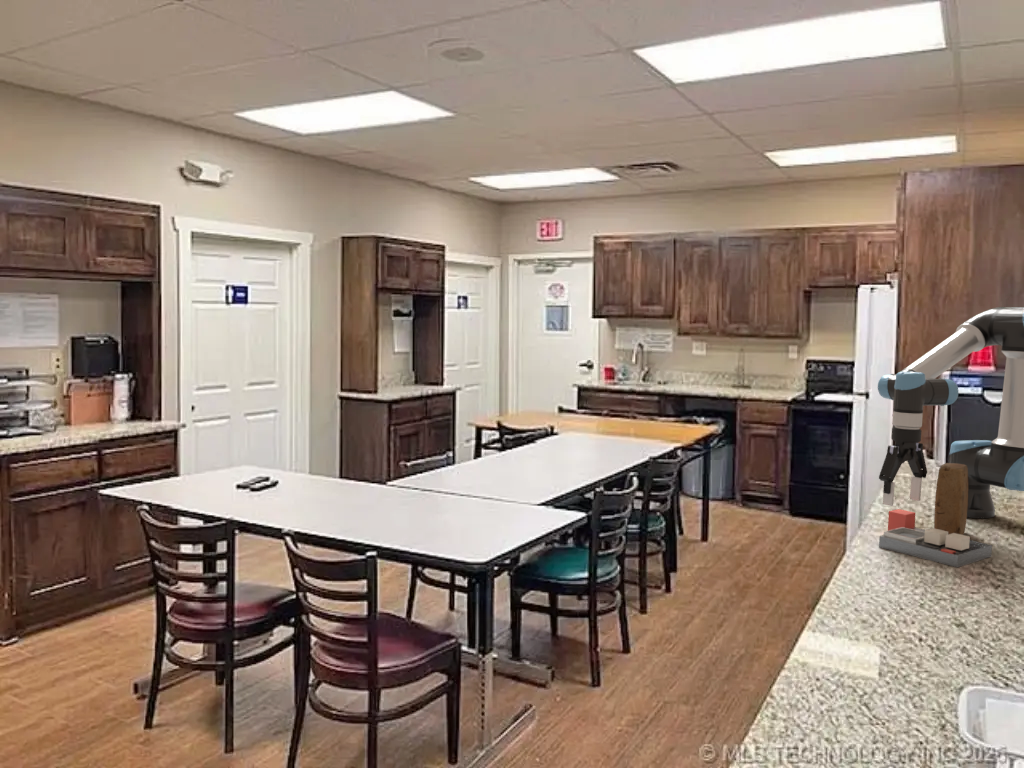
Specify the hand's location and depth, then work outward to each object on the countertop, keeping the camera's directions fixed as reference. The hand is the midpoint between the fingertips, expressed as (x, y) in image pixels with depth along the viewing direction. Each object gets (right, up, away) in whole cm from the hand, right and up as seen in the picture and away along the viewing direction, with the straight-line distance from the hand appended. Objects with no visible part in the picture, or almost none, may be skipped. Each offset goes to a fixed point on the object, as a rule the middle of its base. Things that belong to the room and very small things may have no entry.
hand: (901, 502), depth 238 cm
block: (+16, -10, +5) cm, 19 cm away
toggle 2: (+4, -8, -22) cm, 24 cm away
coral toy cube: (0, -10, +1) cm, 10 cm away
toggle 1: (+1, -8, -18) cm, 19 cm away
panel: (+2, -11, -14) cm, 18 cm away
